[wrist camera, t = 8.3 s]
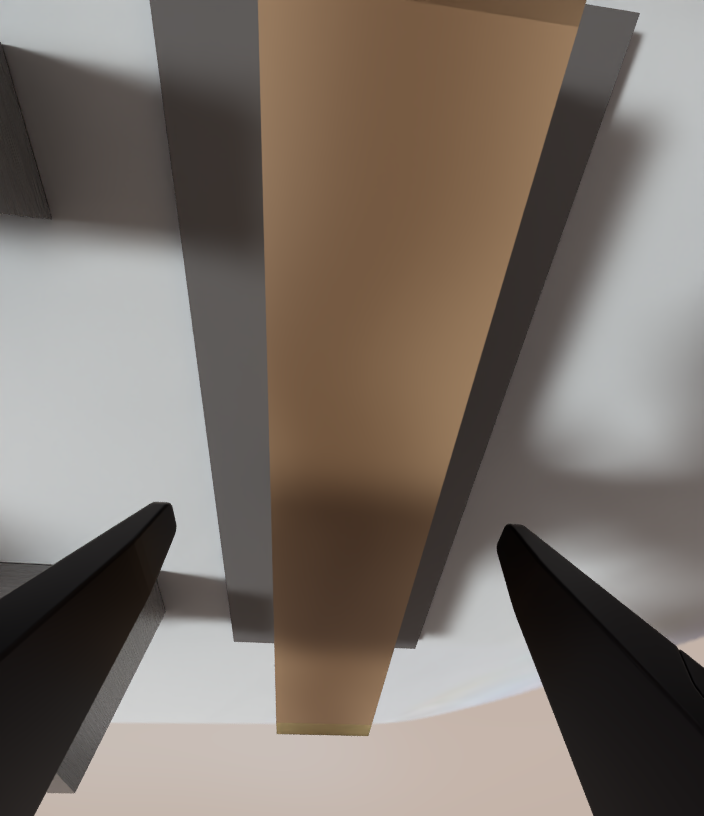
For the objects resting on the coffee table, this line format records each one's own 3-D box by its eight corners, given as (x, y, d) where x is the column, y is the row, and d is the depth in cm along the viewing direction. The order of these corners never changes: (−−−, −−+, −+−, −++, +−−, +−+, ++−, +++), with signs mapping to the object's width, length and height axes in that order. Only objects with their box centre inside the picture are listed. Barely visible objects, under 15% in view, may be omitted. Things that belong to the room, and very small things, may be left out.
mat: (623, 26, 6) (639, 13, 6) (413, 639, 16) (415, 648, 16) (154, -49, 6) (140, -69, 5) (236, 632, 16) (233, 641, 15)
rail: (482, 67, 6) (623, -124, 3) (363, 635, 15) (368, 735, 12) (302, 40, 6) (253, -193, 3) (291, 632, 15) (276, 733, 12)
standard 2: (153, 570, 13) (41, 756, 8) (165, 611, 15) (74, 793, 10) (-10, 562, 13) (-226, 752, 8) (18, 605, 14) (-153, 790, 9)
